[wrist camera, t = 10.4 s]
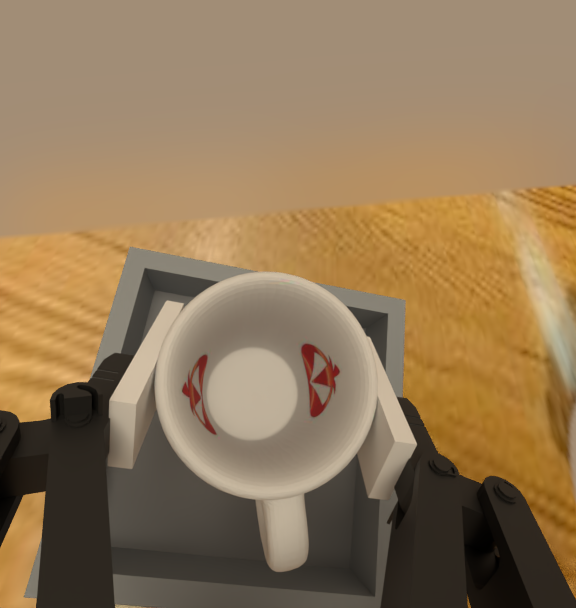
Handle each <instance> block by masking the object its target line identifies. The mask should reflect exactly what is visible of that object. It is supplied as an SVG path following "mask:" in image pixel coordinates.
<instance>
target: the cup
mask: <svg viewBox="0 0 576 608" xmlns="http://www.w3.org/2000/svg"><path fill="white" fill-rule="evenodd" d="M154 390H155V401H156V408H157V412H158V416H159V420H160V423H161V426H162V428H163V431H164V433H165V435H166V437H167V440H168V441H169V443H170V445H171V447H172V448H173V450H174V451H175V452H176V454H177V455H178V457H179V458H180V459H181V460H182V461H183V463H184V464H185V465H186V466H187V467H188V468H189V469H190V470H191V471H192V472H194V473H195V474H196V475H197V476H198V477H199V478H201V479H202V480H204V481H205V482H207V483H208V484H210V485H211V486H213V487H215V488H217V489H219V490H221V491H223V492H226V493H229V494H232V495H235V496H238V497H242V498H248V499H254V500H256V508H257V516H258V523H259V529H260V536H261V540H262V545H263V549H264V554H265V558H266V561H267V564H268V565H269V567H270V568H271V569H272V570H273V571H275V572H285V571H289V570H292V569H295V568H298V567H300V566H301V565H302V564H303V563H305V561H306V559H307V556H308V550H309V539H308V526H307V518H306V510H305V499H304V493H307V492H309V491H312V490H314V489H316V488H318V487H320V486H321V485H323V484H325V483H326V482H328V481H329V480H331V479H332V478H333V477H335V476H336V475H337V474H339V473H340V472H341V471H342V470H343V469H344V468H345V467H346V466H347V465H348V464H349V462H350V461H351V460H352V459H353V458H354V456H355V455H356V454H357V452H358V451H359V449H360V448H361V446H362V444H363V443H364V441H365V439H366V437H367V434H368V432H369V430H370V428H371V424H372V421H373V418H374V415H375V410H376V405H377V396H378V377H377V369H376V363H375V359H374V355H373V351H372V348H371V345H370V343H369V340H368V338H367V336H366V334H365V332H364V330H363V329H362V327H361V325H360V324H359V322H358V321H357V319H356V318H355V316H354V315H353V314H352V313H351V311H350V310H349V309H348V308H347V307H346V306H345V305H344V304H343V303H342V302H341V301H340V300H339V299H338V298H337V297H335V296H334V295H333V294H331V293H330V292H329V291H327V290H326V289H324V288H322V287H321V286H319V285H317V284H315V283H313V282H311V281H309V280H306V279H304V278H301V277H298V276H294V275H290V274H285V273H279V272H253V273H246V274H241V275H237V276H234V277H231V278H228V279H225V280H223V281H221V282H218V283H216V284H214V285H213V286H211V287H209V288H207V289H206V290H204V291H203V292H201V293H200V294H199V295H197V296H196V297H195V298H194V299H193V300H191V301H190V302H189V303H188V304H187V305H186V306H185V307H184V309H183V310H182V311H181V312H180V313H179V315H178V316H177V317H176V319H175V320H174V322H173V323H172V325H171V326H170V328H169V330H168V332H167V334H166V336H165V338H164V340H163V343H162V346H161V349H160V352H159V355H158V359H157V364H156V369H155V380H154Z"/></svg>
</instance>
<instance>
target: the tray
mask: <svg viewBox="0 0 576 608" xmlns="http://www.w3.org/2000/svg"><path fill="white" fill-rule="evenodd" d="M253 272H258V271H252V270H247V269H242V268H237V267H232V266H227V265H221V264H216V263H211V262H206V261H201V260H196V259H191V258H185V257H180V256H175V255H170V254H165V253H160V252H155V251H149V250H144V249H139V248H134V247H130V248H129V252H128V255H127V258H126V262H125V265H124V268H123V271H122V275H121V278H120V281H119V285H118V288H117V291H116V295H115V298H114V301H113V304H112V308H111V311H110V314H109V318H108V321H107V324H106V328H105V331H104V334H103V337H102V341H101V344H100V347H99V351H98V354H97V357H96V361H95V364H94V367H93V371H92V374H91V377H90V379H91V378H92V376H93V374H94V373H95V371H97V368H98V367H99V366H100V364H101V363H102V361H103V360H104V359H105V358H107V357H109V356H110V355H112V354H113V353H121V354H127V355H134V356H135V355H136V353H137V351H138V349H139V348H140V346H141V344H142V342H143V341H144V339H145V337H146V335H147V334H148V332H149V330H150V328H151V327H152V325H153V323H154V322H155V320H156V318H157V316H158V315H159V313H160V311H161V309H162V308H163V306H164V304H165V302H166V301H173V302H178V303H184V307H185V306H186V305H187V304H188V303H189V302H190V301H191V300H193V299H194V298H195V297H196V296H197V295H199V294H200V293H201V292H203V291H204V290H206V289H207V288H209V287H211V286H213V285H214V284H216V283H218V282H221V281H223V280H225V279H228V278H231V277H234V276H237V275H241V274H246V273H253ZM313 283H314V282H313ZM315 284H317V285H319V286H321V287H322V288H324V289H326V290H327V291H329V292H330V293H331V294H333V295H334V296H335V297H337V298H338V299H339V300H340V301H341V302H342V303H343V304H344V305H345V306H346V307H347V308H348V309H349V310H350V311H351V313H352V314H353V315H354V316H355V318H356V319H357V321H358V322H359V324H360V325H361V327H362V329H363V330H364V332H365V334H366V336H367V337H370V338H371V341H372V343H373V345H374V347H375V350H376V352H377V354H378V357H379V359H380V361H381V363H382V366H383V368H384V370H385V372H386V375H387V377H388V379H389V382H390V384H391V386H392V388H393V391H394V393H395V395H396V397H402V398H403V366H404V332H405V300H402V299H397V298H391V297H386V296H381V295H376V294H371V293H366V292H361V291H355V290H350V289H345V288H340V287H335V286H330V285H324V284H319V283H315ZM184 307H183V309H184ZM106 475H107V491H108V506H109V522H110V538H111V554H112V569H113V585H114V601H115V604H117V605H130V606H143V607H156V608H380V607H381V599H382V592H383V585H384V577H385V570H386V563H387V555H388V548H389V541H390V533H391V526H392V521H391V523H390V525H389V524H387V520H388V518H389V516H390V514H391V512H392V511H393V509H394V507H395V505H396V503H397V501H398V498H397V495H396V492H395V489H394V491H393V493H392V495H391V497H390V499H389V500H382V499H374V498H368V495H367V491H366V487H365V483H364V479H363V475H362V471H361V467H360V463H359V459H358V455H357V454H356V455H355V456H354V458H353V459H352V460H351V461H350V462H349V464H348V465H347V466H346V467H345V468H344V469H343V470H342V471H341V472H340V473H339V474H337V475H336V476H335V477H333V478H332V479H331V480H329V481H328V482H326V483H325V484H323V485H321V486H320V487H318V488H316V489H314V490H312V491H309V492H307V493H304V499H305V510H306V518H307V526H308V539H309V550H308V556H307V559H306V561H305V563H303V564H302V565H301V566H300V567H298V568H295V569H292V570H289V571H285V572H275V571H273V570H272V569H271V568H270V567H269V565H268V564H267V561H266V558H265V554H264V549H263V545H262V540H261V536H260V529H259V523H258V516H257V508H256V500H254V499H248V498H242V497H238V496H235V495H232V494H229V493H226V492H223V491H221V490H219V489H217V488H215V487H213V486H211V485H210V484H208V483H207V482H205V481H204V480H202V479H201V478H199V477H198V476H197V475H196V474H195V473H194V472H192V471H191V470H190V469H189V468H188V467H187V466H186V465H185V464H184V463H183V461H182V460H181V459H180V458H179V457H178V455H177V454H176V452H175V451H174V450H173V448H172V447H171V445H170V443H169V441H168V440H167V437H166V435H165V433H164V431H163V428H162V426H161V423H160V420H159V416H158V412H157V408H156V410H155V413H154V415H153V418H152V420H151V423H150V425H149V428H148V430H147V433H146V436H145V438H144V441H143V443H142V446H141V448H140V451H139V453H138V456H137V458H136V461H135V463H134V466H133V468H132V469H127V468H118V467H110V466H108V456H107V458H106ZM41 542H42V539H41ZM41 542H40V545H39V549H38V552H37V555H36V559H35V562H34V565H33V569H32V572H31V575H30V579H29V582H28V585H27V588H26V592H25V595H24V597H26V598H37V591H38V579H39V566H40V554H41Z"/></svg>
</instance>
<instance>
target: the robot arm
mask: <svg viewBox="0 0 576 608" xmlns="http://www.w3.org/2000/svg"><path fill="white" fill-rule="evenodd" d="M183 307H184V303H178V302H173V301H166V302H165V304H164V306H163V308H162V309H161V311H160V313H159V315H158V316H157V318H156V320H155V322H154V323H153V325H152V327H151V328H150V330H149V332H148V334H147V335H146V337H145V339H144V341H143V342H142V344H141V346H140V348H139V349H138V351H137V353H136V355H135V356H134V355H127V354H121V353H113V354H112V355H110V356H109V357H107V358H105V359H104V360H103V361H102V363H101V364H100V366H99V367H98V368H97V371H95V373H94V374H93V376H92V378H91V379H90V380H89V381H88V383H87V382H77V383H72V384H67V385H65V386H63V387H61V388H59V389H58V390H56V391H55V392H54V393H53V394H52V397H51V399H50V408H51V419H47V420H41V421H33V422H22V423H19V420H18V418H17V416H16V415H15V414H13V413H11V412H7V411H1V410H0V547H1V545H2V542H3V540H4V538H5V536H6V533H7V531H8V529H9V527H10V524H11V522H12V520H13V518H14V515H15V513H16V511H17V509H18V506H19V504H20V502H21V499H22V497H23V495H26V494H32V493H38V492H44V491H46V494H45V506H44V518H43V530H42V542H41V554H40V566H39V579H38V591H37V603H36V608H115V601H114V585H113V569H112V554H111V538H110V522H109V506H108V491H107V475H106V458H107V456H108V466H110V467H118V468H127V469H132V468H133V466H134V463H135V461H136V458H137V456H138V453H139V451H140V448H141V446H142V443H143V441H144V438H145V436H146V433H147V430H148V428H149V425H150V423H151V420H152V418H153V415H154V413H155V410H156V401H155V390H154V380H155V369H156V364H157V359H158V355H159V352H160V349H161V346H162V343H163V340H164V338H165V336H166V334H167V332H168V330H169V328H170V326H171V325H172V323H173V322H174V320H175V319H176V317H177V316H178V315H179V313H180V312H181V311H182V310H183ZM367 338H368V340H369V343H370V345H371V348H372V351H373V355H374V359H375V363H376V369H377V377H378V396H377V405H376V410H375V415H374V418H373V421H372V424H371V428H370V430H369V432H368V434H367V437H366V439H365V441H364V443H363V444H362V446H361V448H360V449H359V451H358V452H357V455H358V459H359V463H360V467H361V471H362V475H363V479H364V483H365V487H366V491H367V495H368V498H374V499H382V500H389V499H390V497H391V495H392V493H393V491H394V489H395V492H396V495H397V498H398V501H397V503H396V505H395V507H394V509H393V511H392V512H391V514H390V516H389V518H388V520H387V524H389V525H390V523H391V521H392V526H391V533H390V541H389V548H388V555H387V563H386V570H385V577H384V585H383V592H382V599H381V607H380V608H468V606H467V594H468V598H469V602H470V605H471V608H576V600H575V598H574V596H573V594H572V592H571V590H570V588H569V586H568V584H567V582H566V580H565V578H564V576H563V574H562V572H561V570H560V568H559V566H558V564H557V562H556V560H555V558H554V556H553V554H552V552H551V550H550V548H549V546H548V544H547V542H546V540H545V538H544V536H543V534H542V532H541V530H540V528H539V526H538V524H537V522H536V520H535V518H534V516H533V514H532V512H531V510H530V508H529V506H528V504H527V502H526V500H525V498H524V497H523V495H522V494H521V492H520V491H519V490H518V489H517V488H516V487H515V486H514V485H512V484H511V483H509V482H508V481H506V480H504V479H502V478H500V477H496V476H489V477H486V478H485V480H484V481H483V483H482V484H481V483H478V482H476V481H473V480H471V479H468V478H466V477H464V476H461V475H459V472H458V470H457V468H456V467H455V465H454V464H453V463H452V462H451V461H450V460H449V459H447V458H446V457H444V456H442V455H441V454H438V452H437V450H436V448H435V446H434V444H433V442H432V440H431V438H430V436H429V434H428V432H427V430H426V427H424V423H423V421H422V419H420V418H421V417H420V415H419V413H418V411H417V409H416V407H415V406H414V405H413V404H412V403H411V402H410V401H409V400H408V399H407V398H402V397H396V395H395V393H394V391H393V388H392V386H391V384H390V382H389V379H388V377H387V375H386V372H385V370H384V368H383V366H382V363H381V361H380V359H379V357H378V354H377V352H376V350H375V347H374V345H373V343H372V341H371V338H370V337H367Z"/></svg>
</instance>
